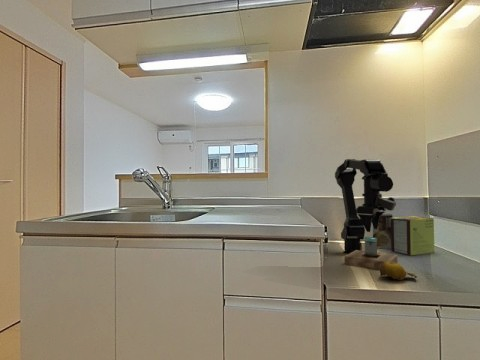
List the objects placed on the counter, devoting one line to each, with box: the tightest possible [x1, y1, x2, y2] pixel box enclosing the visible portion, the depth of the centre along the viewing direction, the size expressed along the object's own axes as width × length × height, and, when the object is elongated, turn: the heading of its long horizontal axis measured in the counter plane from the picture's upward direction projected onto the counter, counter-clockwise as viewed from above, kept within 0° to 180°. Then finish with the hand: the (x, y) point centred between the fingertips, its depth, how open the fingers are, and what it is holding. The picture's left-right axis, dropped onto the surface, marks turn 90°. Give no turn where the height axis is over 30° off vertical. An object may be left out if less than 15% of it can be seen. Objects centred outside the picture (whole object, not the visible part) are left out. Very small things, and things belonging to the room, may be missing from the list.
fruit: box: [379, 262, 418, 281], centre depth 102 cm, size 11×11×5 cm
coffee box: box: [372, 213, 394, 250], centre depth 150 cm, size 9×6×16 cm
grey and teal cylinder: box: [364, 236, 378, 258], centre depth 121 cm, size 4×4×10 cm
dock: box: [343, 250, 398, 270], centre depth 121 cm, size 16×14×3 cm
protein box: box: [390, 215, 435, 256], centre depth 141 cm, size 10×15×16 cm
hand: (372, 230), depth 122 cm, fingers open, 9 cm apart
